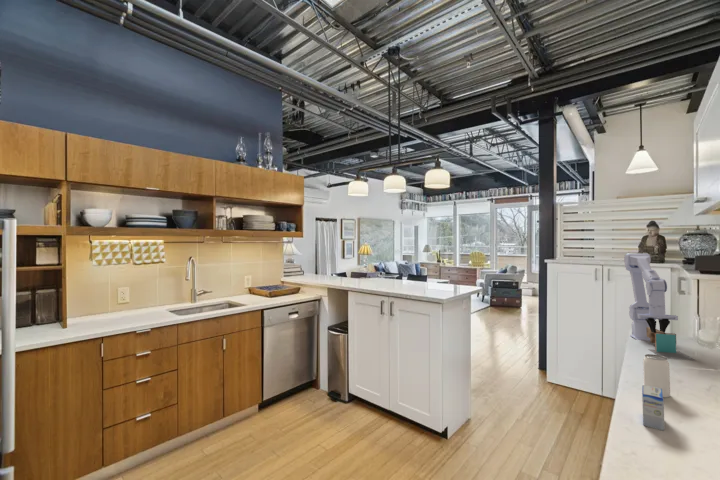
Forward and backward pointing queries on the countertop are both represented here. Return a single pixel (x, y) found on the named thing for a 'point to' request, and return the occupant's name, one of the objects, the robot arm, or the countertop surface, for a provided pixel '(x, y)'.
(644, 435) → the countertop surface
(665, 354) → the mat
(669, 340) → the tile
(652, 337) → the wooden t-shaped piece
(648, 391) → the medicine box
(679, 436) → the countertop surface
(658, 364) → the can
